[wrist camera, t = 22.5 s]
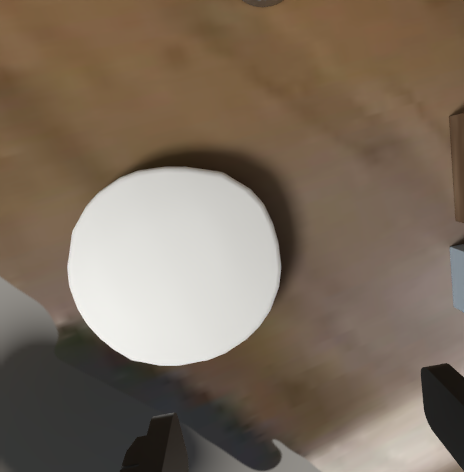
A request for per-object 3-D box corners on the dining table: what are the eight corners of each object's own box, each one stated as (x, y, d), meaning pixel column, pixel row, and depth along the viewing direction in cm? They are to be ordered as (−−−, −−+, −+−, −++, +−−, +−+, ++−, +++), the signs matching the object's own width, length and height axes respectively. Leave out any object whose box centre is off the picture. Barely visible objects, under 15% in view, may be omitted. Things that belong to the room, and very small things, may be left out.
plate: (118, 400, 48) (19, 220, 43) (134, 371, 54) (50, 212, 50) (316, 332, 44) (230, 124, 39) (309, 309, 50) (234, 128, 45)
